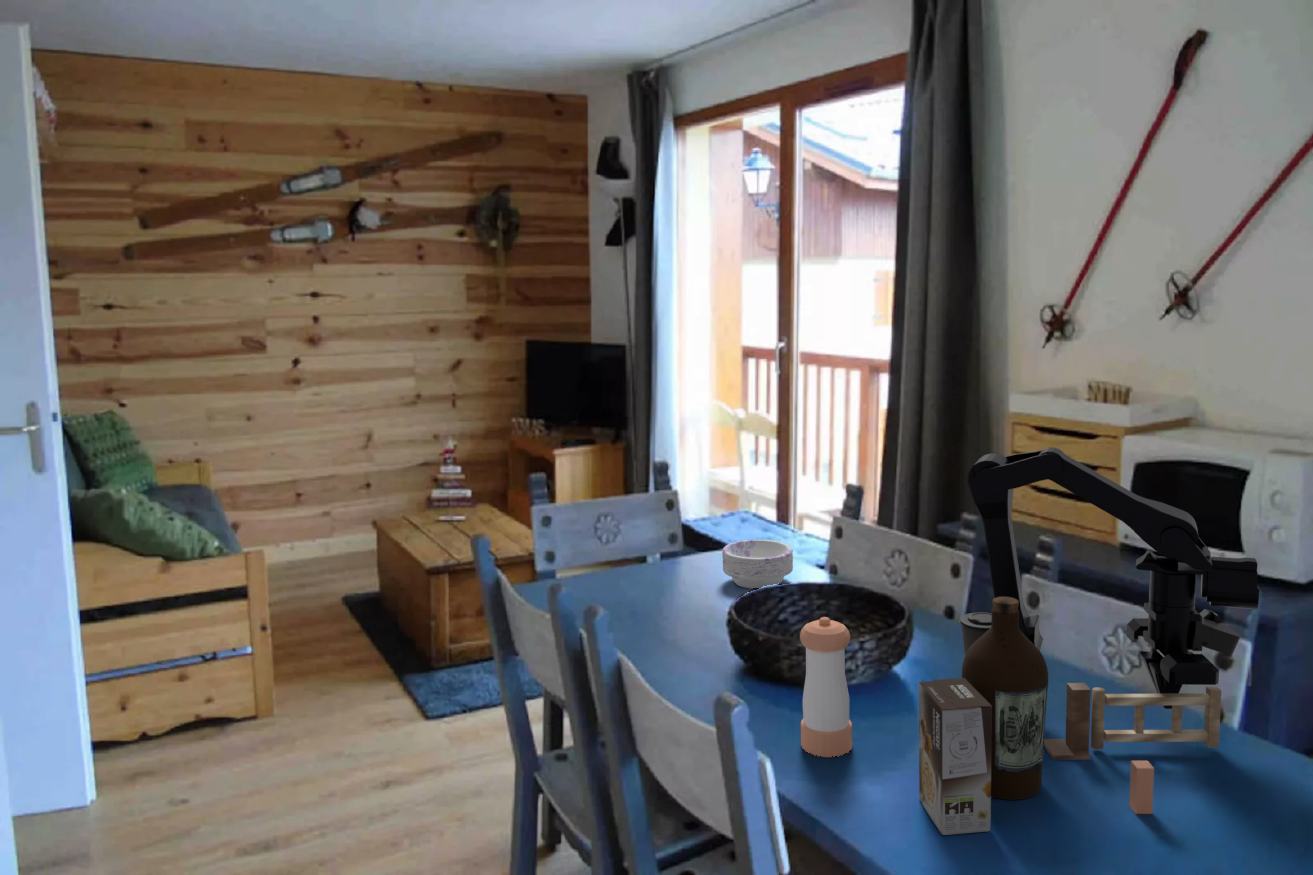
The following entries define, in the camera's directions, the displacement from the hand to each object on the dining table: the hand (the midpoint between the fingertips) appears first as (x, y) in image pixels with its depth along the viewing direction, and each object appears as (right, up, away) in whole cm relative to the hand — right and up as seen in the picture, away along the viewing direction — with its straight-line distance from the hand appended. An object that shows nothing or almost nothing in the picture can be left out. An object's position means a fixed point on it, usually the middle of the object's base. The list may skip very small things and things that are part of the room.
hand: (1167, 707), depth 147 cm
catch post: (-12, -8, -18) cm, 23 cm away
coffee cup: (-18, -1, +26) cm, 32 cm away
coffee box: (-35, -9, -17) cm, 40 cm away
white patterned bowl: (-50, +6, +80) cm, 94 cm away
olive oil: (-26, -8, -10) cm, 29 cm away
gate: (-3, -5, -3) cm, 6 cm away
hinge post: (-15, -6, -2) cm, 16 cm away
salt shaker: (-48, -6, +3) cm, 48 cm away
